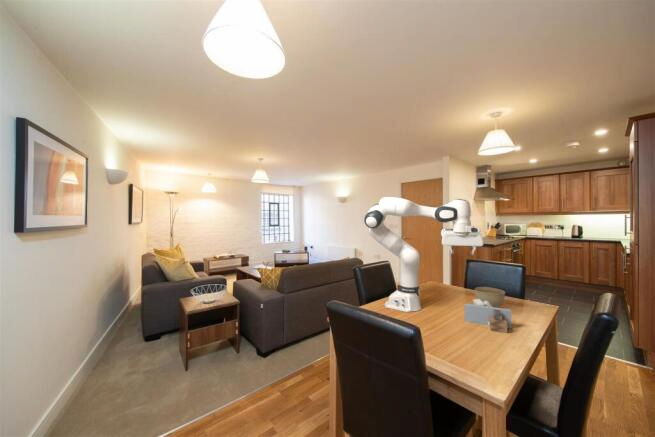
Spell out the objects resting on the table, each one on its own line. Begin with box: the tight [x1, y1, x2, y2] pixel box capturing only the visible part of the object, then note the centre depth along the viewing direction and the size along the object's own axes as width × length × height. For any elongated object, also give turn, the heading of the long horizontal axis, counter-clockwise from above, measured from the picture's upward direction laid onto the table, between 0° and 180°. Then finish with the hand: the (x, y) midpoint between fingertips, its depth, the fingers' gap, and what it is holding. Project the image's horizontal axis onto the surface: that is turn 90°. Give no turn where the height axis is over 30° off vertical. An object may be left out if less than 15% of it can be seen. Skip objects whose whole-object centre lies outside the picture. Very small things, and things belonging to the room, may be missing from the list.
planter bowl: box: [474, 286, 506, 308], centre depth 161 cm, size 16×16×11 cm
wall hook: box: [472, 298, 492, 307], centre depth 148 cm, size 8×10×10 cm
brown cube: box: [489, 310, 508, 334], centre depth 130 cm, size 7×7×9 cm
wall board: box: [464, 303, 512, 329], centre depth 136 cm, size 21×4×9 cm, turn 62°
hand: (462, 254), depth 140 cm, fingers open, 8 cm apart
